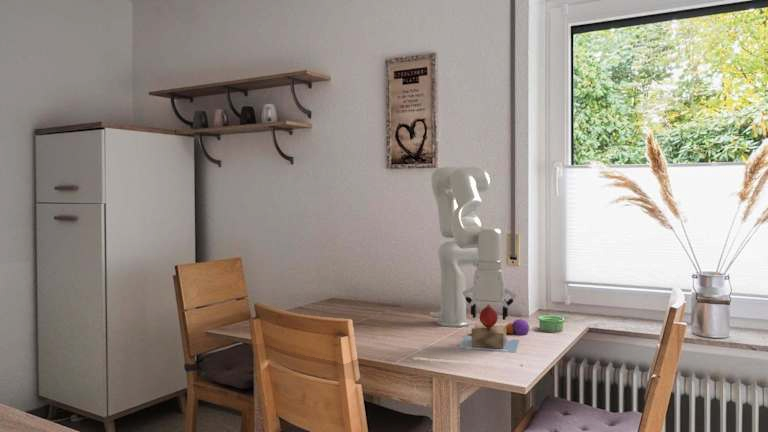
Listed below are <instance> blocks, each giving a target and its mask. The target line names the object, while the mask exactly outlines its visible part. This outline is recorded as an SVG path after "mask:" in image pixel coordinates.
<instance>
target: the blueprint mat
mask: <svg viewBox="0 0 768 432" xmlns="http://www.w3.org/2000/svg"><path fill="white" fill-rule="evenodd" d="M519 341H520V339H514V338H512V339H509V338H506V343H505V346H504V349H494V348H480V347H472V336H465V337H464V338H463V339H462V341H461V343H460V344H459V346H458V347H457V349H458V350H471V351H472V350H473V351H485V352H486V351H487V352H499V353H500V352H501V353H510V354H511V353H513V354H514V353H515V354H516V352H517V350H518V345H519Z"/></svg>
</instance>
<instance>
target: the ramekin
mask: <svg viewBox="0 0 768 432" xmlns="http://www.w3.org/2000/svg"><path fill="white" fill-rule="evenodd" d="M564 321H565V318H564V317H562V316H558V315H541V316H539V317H538V323H539V329H540V331H542V332H547V333H561V332H562V331H563V329H564V323H565V322H564Z"/></svg>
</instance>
